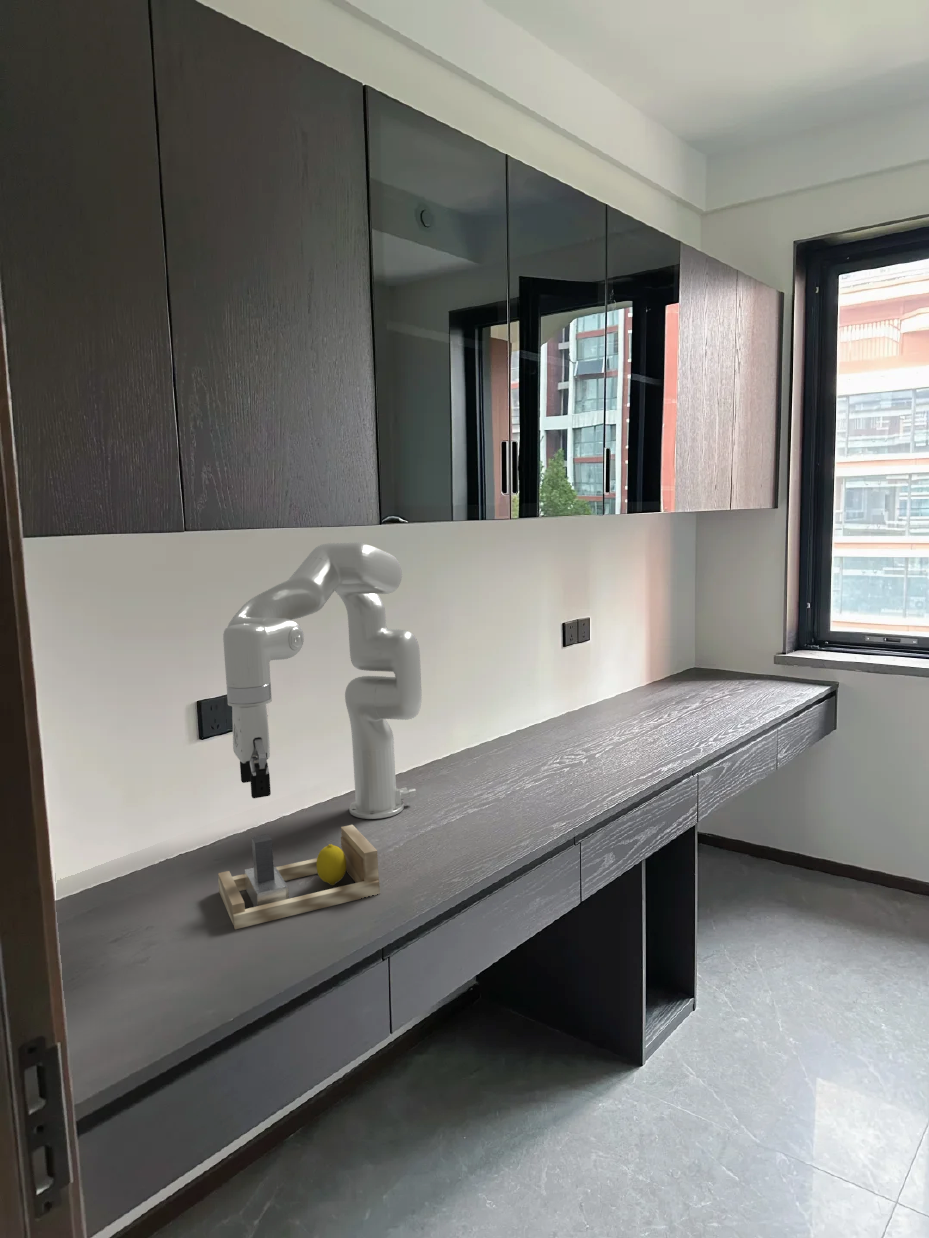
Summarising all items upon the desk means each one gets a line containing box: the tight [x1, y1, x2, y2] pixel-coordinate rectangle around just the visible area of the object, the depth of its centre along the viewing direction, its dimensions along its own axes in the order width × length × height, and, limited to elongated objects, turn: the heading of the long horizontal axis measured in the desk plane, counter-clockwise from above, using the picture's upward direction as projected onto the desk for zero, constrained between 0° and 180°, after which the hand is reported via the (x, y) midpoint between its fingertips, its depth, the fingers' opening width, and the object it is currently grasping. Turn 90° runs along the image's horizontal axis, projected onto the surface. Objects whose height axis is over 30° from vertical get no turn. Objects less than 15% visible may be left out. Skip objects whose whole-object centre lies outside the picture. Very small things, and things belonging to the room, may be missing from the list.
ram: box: [244, 833, 290, 907], centre depth 152 cm, size 6×11×12 cm, turn 25°
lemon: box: [316, 843, 347, 886], centre depth 158 cm, size 6×6×8 cm
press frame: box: [217, 824, 381, 930], centre depth 155 cm, size 26×16×8 cm, turn 115°
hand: (255, 788), depth 150 cm, fingers open, 9 cm apart
